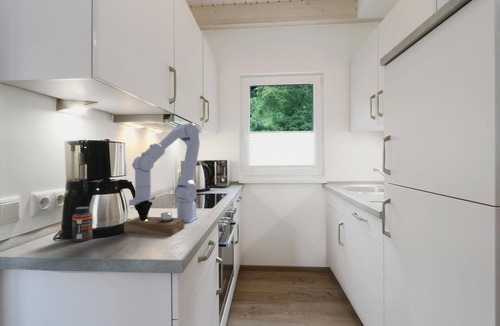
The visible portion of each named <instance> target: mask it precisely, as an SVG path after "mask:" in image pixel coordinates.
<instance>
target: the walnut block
mask: <svg viewBox="0 0 500 326" xmlns="http://www.w3.org/2000/svg"><path fill="white" fill-rule="evenodd" d="M147 219H149V220H148V221H138V220H140V218H139V216H137V217H134V218H132V219H130V220H125V221H124V222H123V233H125V234H139V235H140V234H141V235H154V236H155V235H157V236H158V235H159V236H174V235H175V234H177V233H179V232H181V231H182V230H183V229H185V222H184V218H177V217H172V221H171V222H169V223H166V222H161V216H160V217H158V216H148V217H147Z"/></svg>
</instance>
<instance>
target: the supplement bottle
mask: <svg viewBox="0 0 500 326" xmlns="http://www.w3.org/2000/svg"><path fill="white" fill-rule="evenodd" d="M71 219H72V226H71V227H72V229H71V230H72V235H71V236H72V241H73V242H85V241H88V240H91V239H92V238H93V214H92V212H90V207H89V206H78V207H76V208H75V213H74V214H72V218H71Z"/></svg>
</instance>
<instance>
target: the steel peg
mask: <svg viewBox="0 0 500 326" xmlns="http://www.w3.org/2000/svg"><path fill="white" fill-rule="evenodd" d="M160 217H161V222H166V223H169V222H171V221H172V218H173V213H172V212H171V211H169V212H168V211H165V212H161V213H160Z"/></svg>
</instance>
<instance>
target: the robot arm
mask: <svg viewBox="0 0 500 326" xmlns="http://www.w3.org/2000/svg"><path fill="white" fill-rule="evenodd" d="M199 134H200V129H199V128H198V126H197V124H195V123H193V122H189V123H184V124H177V125H176V126H175V127H173V129H171V131H170V132H169V133H168V134H167V135H166V136H165V137H164V138H163V139H162V140H161V141H160V142H159V143H153V144H152V143H151V144H150V145H149V147H148V149H146V151H143V152H142V153H141V156H136V157H135V158H134V159H133V162H132V163H131V166H132V168H133V169H134V179H135V180H134V184H135V185H134V188H135V194H134V195H135V196H134V197H135V198H133V197H132V199H129V204H128V205H129V206H133V207H134V208H135V210H136V212H137V214H138V217H139V218H140V220H141V221H145V220H147V217H149V211H150V209H151V207H152V205H153V201H152V200H156V194H152V187H151V186H152V185H151V183H152V177H151V176H152V173H151V172H152V171H151V170H152V169H153V167H154V164H155V163H156V162H157V161H158V160H159V159H161V157H163V156H164V155H165V151H166V149H167V148H169V146H171V145H172V144H173V143H174V142H175V141H177V140H178V139H180V140H181V141H182V142H184V144H185V145H186V151H185V156H184V163H183V168H182V173H181V179H180V180H179V181H178V182H177V184H176V186H175V189H174V191H173V195H174V197H175V198H176V204H177V205H176V213H177V214H176V215H177V216H176V218H184V223H192V222H194V221H196V220H197V219H199V216H197V203H196V202H195V199H196V197H197V194H198V193H197V184H196V183H195V181H194V180H195V173H196V167H197V162H198V155H199V150H200V143H201V142H200V138H199V137H200V136H199Z"/></svg>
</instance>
